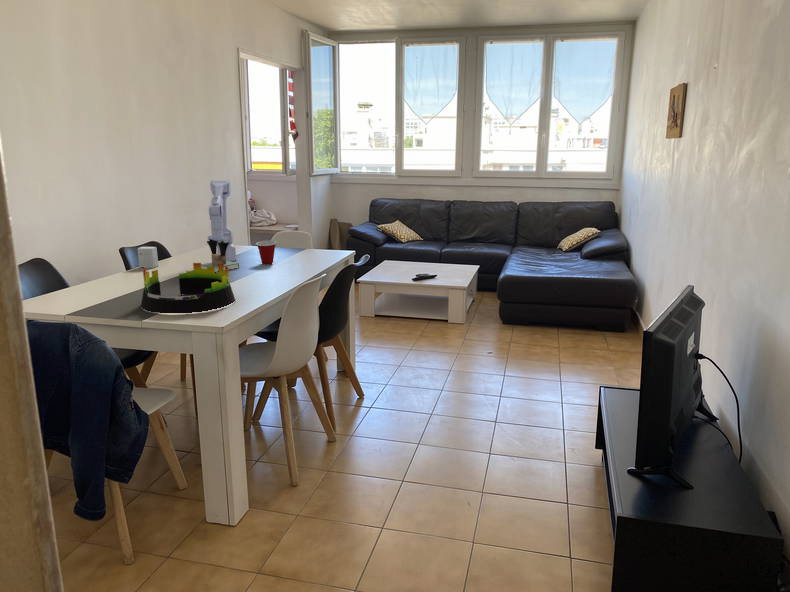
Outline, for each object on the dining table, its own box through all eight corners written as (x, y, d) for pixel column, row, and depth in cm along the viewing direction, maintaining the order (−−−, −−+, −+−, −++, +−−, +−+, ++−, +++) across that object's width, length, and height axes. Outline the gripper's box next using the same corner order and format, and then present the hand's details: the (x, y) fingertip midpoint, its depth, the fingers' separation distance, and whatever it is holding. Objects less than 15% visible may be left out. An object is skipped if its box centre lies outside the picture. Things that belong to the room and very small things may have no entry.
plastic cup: (252, 264, 331) (251, 242, 329) (264, 261, 341) (263, 240, 338) (270, 266, 327) (269, 244, 325) (281, 263, 337) (280, 241, 334)
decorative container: (123, 315, 234) (119, 276, 231) (163, 292, 270) (160, 259, 266) (218, 317, 232) (216, 278, 229) (246, 294, 268) (244, 260, 265)
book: (225, 265, 330) (224, 260, 329) (239, 268, 323) (239, 263, 322) (199, 270, 318) (199, 264, 317) (213, 273, 311) (213, 267, 310)
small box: (158, 266, 326) (157, 246, 323) (153, 268, 321) (151, 248, 318) (144, 266, 327) (142, 246, 324) (138, 268, 321) (137, 248, 319)
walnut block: (220, 262, 323) (219, 253, 322) (226, 263, 320) (225, 254, 319) (212, 264, 319) (211, 254, 318) (218, 265, 316) (217, 255, 315)
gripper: (201, 228, 317) (203, 254, 320) (219, 230, 308) (220, 257, 311) (213, 226, 322) (215, 252, 325) (230, 229, 313) (232, 255, 316)
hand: (218, 255), depth 318 cm, fingers open, 7 cm apart
